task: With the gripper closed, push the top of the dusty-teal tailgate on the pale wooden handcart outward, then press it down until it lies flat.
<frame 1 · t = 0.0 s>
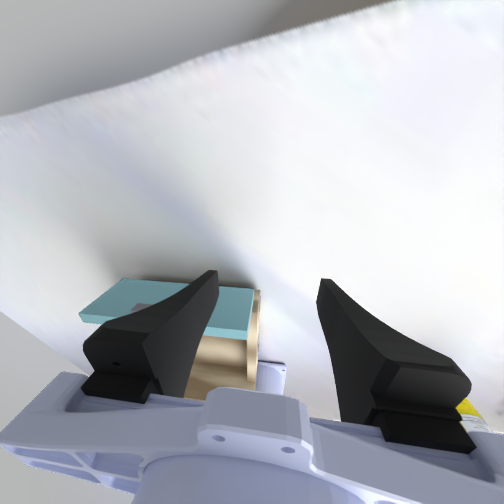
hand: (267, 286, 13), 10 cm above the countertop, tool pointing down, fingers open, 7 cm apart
tailgate: (174, 302, 20), point 6 cm above the countertop, hinge at 0.0°
cart: (203, 318, 30), on the countertop
supplement bottle: (426, 382, 31), on the countertop
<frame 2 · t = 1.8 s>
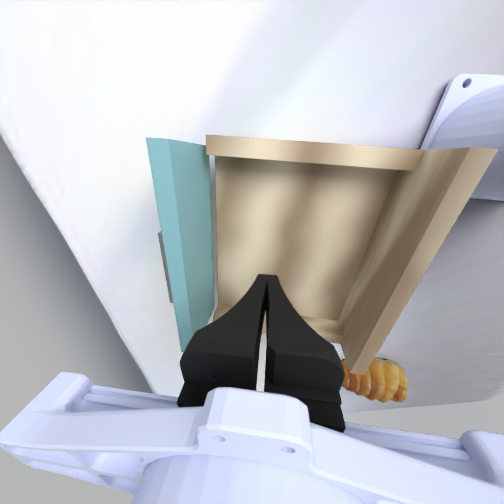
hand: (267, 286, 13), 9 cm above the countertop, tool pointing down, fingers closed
tailgate: (190, 256, 16), point 6 cm above the countertop, hinge at 0.0°
pastry: (366, 367, 29), on the countertop
cart: (291, 239, 21), on the countertop
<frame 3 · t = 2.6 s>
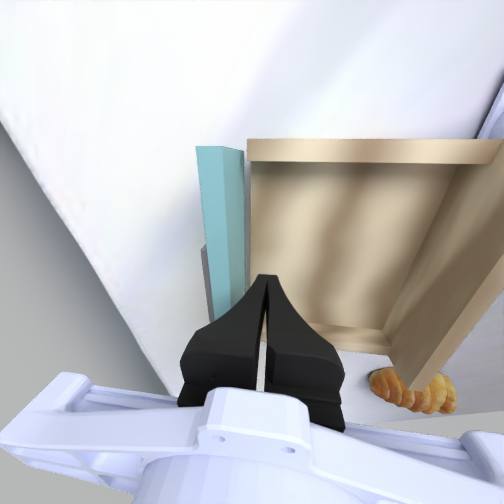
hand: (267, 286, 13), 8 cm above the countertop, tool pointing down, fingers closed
tailgate: (227, 271, 15), point 6 cm above the countertop, hinge at 0.0°
pastry: (405, 376, 27), on the countertop
cart: (326, 245, 19), on the countertop
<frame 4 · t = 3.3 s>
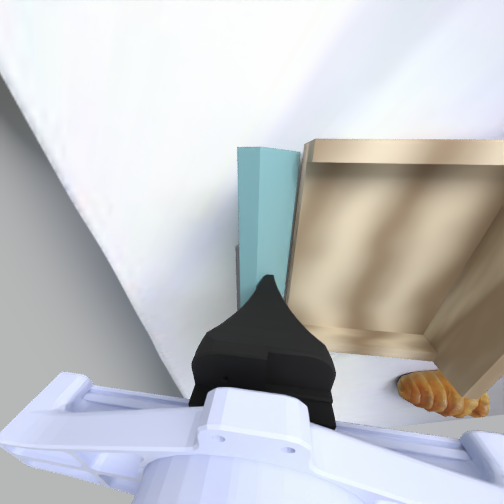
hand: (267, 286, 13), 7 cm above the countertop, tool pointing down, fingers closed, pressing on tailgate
tailgate: (264, 272, 14), point 6 cm above the countertop, hinge at 24.1°, touching gripper
pastry: (432, 380, 27), on the countertop
cart: (366, 248, 19), on the countertop
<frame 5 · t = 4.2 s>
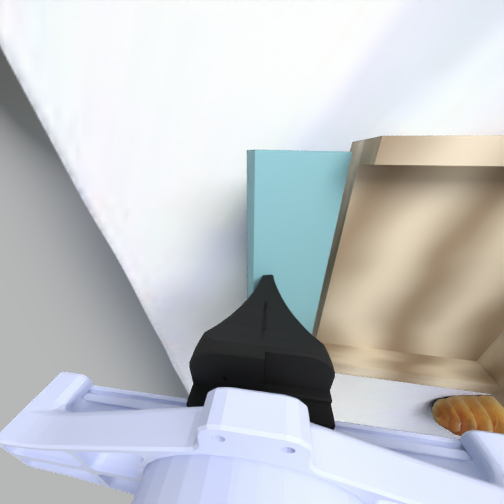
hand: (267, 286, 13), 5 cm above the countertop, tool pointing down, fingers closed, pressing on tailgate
tailgate: (285, 275, 14), point 4 cm above the countertop, hinge at 62.3°, touching gripper
pastry: (472, 404, 24), on the countertop
cart: (411, 261, 16), on the countertop
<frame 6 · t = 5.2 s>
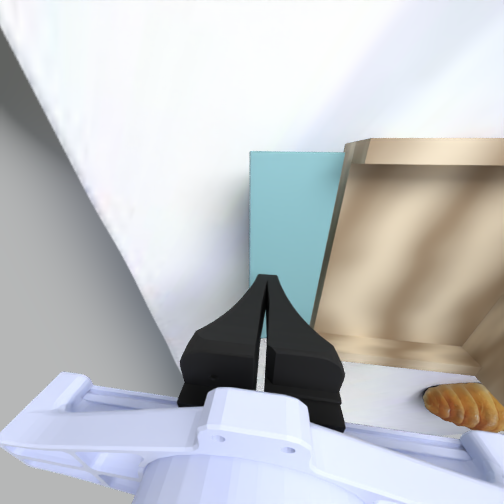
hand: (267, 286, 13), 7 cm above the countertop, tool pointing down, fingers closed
tailgate: (283, 262, 16), point 3 cm above the countertop, hinge at 79.1°
pastry: (460, 392, 26), on the countertop
cart: (401, 254, 18), on the countertop
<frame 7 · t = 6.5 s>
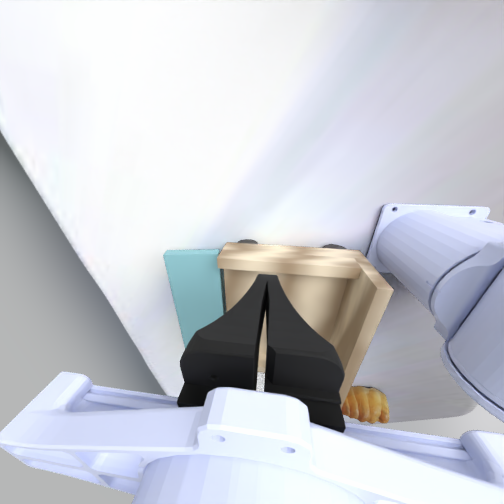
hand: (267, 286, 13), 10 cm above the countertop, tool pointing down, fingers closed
tailgate: (201, 306, 25), point 3 cm above the countertop, hinge at 79.3°
pastry: (357, 393, 35), on the countertop
cart: (283, 299, 26), on the countertop
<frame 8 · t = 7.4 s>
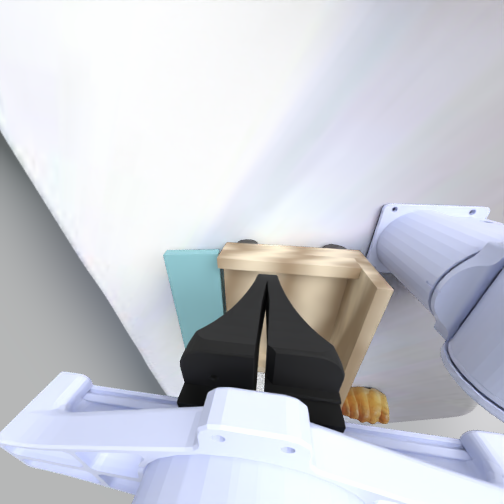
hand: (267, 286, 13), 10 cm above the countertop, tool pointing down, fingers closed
tailgate: (201, 306, 25), point 3 cm above the countertop, hinge at 79.3°
pastry: (357, 393, 35), on the countertop
cart: (283, 299, 26), on the countertop
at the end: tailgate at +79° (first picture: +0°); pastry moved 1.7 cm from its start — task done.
